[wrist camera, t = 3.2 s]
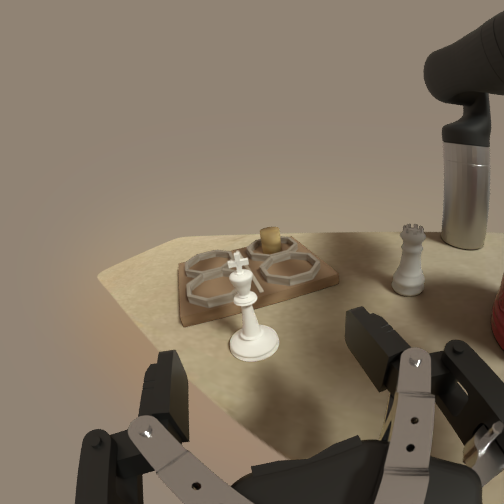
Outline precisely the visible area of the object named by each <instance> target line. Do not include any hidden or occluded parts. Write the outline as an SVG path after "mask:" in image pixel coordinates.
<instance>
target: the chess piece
mask: <svg viewBox="0 0 504 504" xmlns="http://www.w3.org/2000/svg"><path fill="white" fill-rule="evenodd" d="M234 258H235V260H232V261H228V267H229V268H232V267H236V268H237V270H236V271H234V272H232V273H231V274H230V276H229V280H230V282H231V283H232V284H233V286H234V287H235V290H236V291H237V293H238V294H236V295H235V297H234V304H236V305H237V306H241V309H242V321H243V328H241V329H239V330H238V331H237V332H235V333H234V334H233V336H232V337H231V340H230V350H231V353H232V354H233V355H234V356H235V357H236V358H238V359H240V360H242V361H248V362H254V361H260V360H263V359H266V358H268V357H270V356H271V355H272V354H274V353H275V351H276V350H277V349H278V346H279V338H278V335H277V333H276V332H275V330H274V329H272V328H271V327H268V326H265V325H259V324H258V321H257V318H256V315H255V312H254V309H253V306H252V304H253V303H255V302H256V301H257V295H256V294H255V293H254V292H252V291H250V289H251V281H252V277H253V274H252V272H251V271H250V270H247V269H242V266H243V265H249V262H248V258H243V259H240V255H239V252H237V253H234Z"/></svg>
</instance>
